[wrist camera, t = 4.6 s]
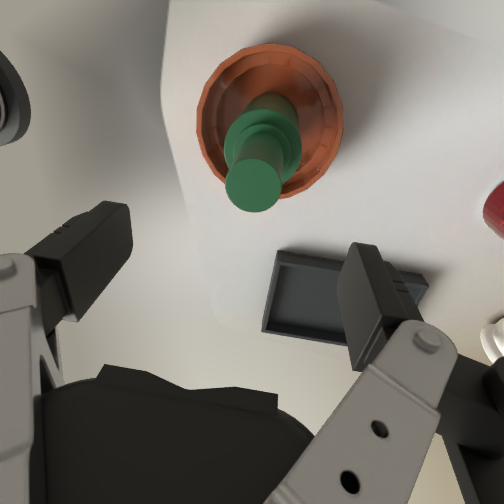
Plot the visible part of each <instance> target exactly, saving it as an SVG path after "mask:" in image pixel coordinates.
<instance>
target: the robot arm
mask: <svg viewBox="0 0 504 504" xmlns="http://www.w3.org/2000/svg"><path fill="white" fill-rule="evenodd" d="M7 119H8V105H7V101H6V97H5V94H4V92H3V89H2V87H1V85H0V132H1V131H2V130H3V128H4V127H5V125H6V123H7ZM132 248H133V238H132V229H131V220H130V211H129V208H128V206H127V205H126V204H123V203H116V202H111V201H102V202H101V203H99V204H98V205H97V206H96V207H94V208H93V209H92V210H90V211H89V212H85V213H82V214H80V215H77V216H74V217H72V218H71V219H70V220H68V221H67V222H66V223H64V224H63V225H62V227H59V228H58V229H56V230H55V231H54V233H51V234H50V235H48V236H47V237H46V238H44V239H43V240H41V241H40V242H39V243H37V244H36V245H35V246H33V247H32V248H31V249H30V250H28V251H27V252H25V253H24V254H16V253H12V254H11V253H10V254H2V255H0V504H407V503H408V500H409V498H410V495H411V493H412V490H413V488H414V485H415V483H416V480H417V477H418V475H419V472H420V470H421V467H422V465H423V462H424V459H425V457H426V454H427V452H428V449H429V447H430V444H431V441H432V439H433V436H434V434H435V433H437V434H439V435H442V438H443V440H444V444H445V446H446V449H447V452H448V455H449V458H450V461H451V463H452V467H453V470H454V473H455V475H456V478H457V481H458V484H459V487H460V490H461V493H462V496H463V499H464V501H465V504H504V356H503V357H500V358H498V359H497V360H496V361H495V362H494V363H493V364H492V365H491V367H490V366H487V365H485V364H482V363H480V362H478V361H475V360H473V359H470V358H468V357H465V356H463V355H460V354H458V353H457V349H456V347H455V345H454V343H453V342H452V341H451V339H450V338H449V337H448V336H447V335H446V334H445V333H443V332H442V331H441V330H439V329H438V328H436V327H434V326H432V325H430V324H428V323H425V322H424V320H423V318H422V316H421V314H420V312H419V310H418V308H417V306H416V304H415V302H414V300H413V298H412V296H411V294H410V293H409V290H408V288H407V286H406V285H405V284H404V283H405V282H404V280H403V278H402V276H401V274H400V272H399V271H398V270H397V269H396V268H395V267H393V266H392V265H391V264H390V263H389V262H386V261H383V259H382V257H381V255H380V253H379V251H378V248H377V247H376V246H375V245H369V244H363V243H357V242H353V243H352V244H351V246H350V248H349V251H348V254H347V256H346V259H345V262H344V264H343V267H342V270H341V273H340V275H339V278H338V283H337V295H338V300H339V305H340V310H341V315H342V320H343V325H344V330H345V335H346V340H347V345H348V350H349V355H350V360H351V365H352V370H353V371H358V372H362V373H361V375H360V376H359V378H358V379H357V380H356V382H355V383H354V384H353V386H352V387H351V388H350V390H349V391H348V392H347V394H346V395H345V396H344V398H343V399H342V401H341V402H340V403H339V405H338V406H337V407H336V409H335V410H334V411H333V413H332V414H331V416H330V417H329V418H328V419H327V421H326V422H325V424H324V425H323V426H322V428H321V429H320V430H319V432H318V433H317V435H316V436H314V435H313V434H312V433H311V432H310V431H309V430H308V429H307V428H306V427H305V426H304V425H303V424H301V423H300V422H299V421H298V420H296V419H295V418H294V417H292V416H290V415H289V414H287V413H286V412H284V411H282V410H280V409H278V408H277V407H278V394H274V393H269V392H263V391H257V390H251V389H245V388H240V387H224V388H211V389H197V390H187V389H184V388H182V387H179V386H177V385H175V384H173V383H171V382H169V381H166V380H164V379H162V378H160V377H158V376H156V375H153V374H151V373H149V372H147V371H141V370H136V369H130V368H124V367H118V366H113V365H107V364H104V366H103V367H102V369H101V371H100V372H99V374H98V376H97V377H96V378H90V379H85V380H80V381H76V382H73V383H69V384H66V385H65V384H64V379H63V370H62V362H61V353H60V344H59V335H58V330H57V327H56V325H57V324H58V323H59V322H60V321H61V320H66V321H72V322H79V320H80V319H81V318H82V317H83V315H84V314H85V313H86V312H87V310H88V309H89V308H90V306H91V305H92V304H93V303H94V301H95V300H96V299H97V298H98V296H99V295H100V294H101V293H102V291H103V290H104V289H105V287H106V286H107V285H108V284H109V283H110V281H111V280H112V279H113V278H114V276H115V275H116V274H117V272H118V271H119V270H120V269H121V267H122V266H123V265H124V264H125V262H126V261H127V260H128V259H129V257H130V255H131V252H132Z"/></svg>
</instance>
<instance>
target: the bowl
mask: <svg viewBox="0 0 504 504" xmlns="http://www.w3.org/2000/svg"><path fill="white" fill-rule="evenodd" d="M267 92H275V93H279V94H282V95H284V96H285V97H287V98H288V99H289V100H290V101H291V102H292V103H293V105H294V107H295V109H296V111H297V115H298V121H299V127H300V134H301V141H302V157H301V161H300V164H299V166H298V168H297V170H296V172H295V173H294V174H293V176H292V177H291V178H290V179H289V180H288V181H286V182H285V183H283V184H282V191H281V194H280V197H279V199H283V198H289V197H291V196H293V195H296V194H298V193H300V192H302V191H304V190H307V189H308V188H309V187H310V186H312V185H313V184H314V183H315V182H316V181H317V180H318V179H320V178H321V177H322V176H323V175H324V174H325V172H326V171H327V169H328V168H329V166H330V165H331V163H332V161H333V160H334V158H335V157H336V155H337V151H338V148H339V144H340V141H341V137H342V134H343V107H342V103H341V100H340V97H339V95H338V92H337V89H336V86H335V83H334V81H333V80H332V78H331V77H330V76H329V75H328V73H327V72H326V71H325V70H324V68H323V67H322V66H321V65H320V63H319V62H318V61H317V60H315V59H314V58H312V57H310V56H309V55H307V54H305V53H304V52H302V51H300V50H299V49H297V48H295V47H291V46H285V45H278V44H272V43H265V44H261V45H257V46H252V47H248V48H244V49H241V50H240V51H238V52H237V53H235V54H234V55H232V56H231V57H229V58H228V59H226V60H225V61H223V62H222V63H221V64H220V65H219V66H218V67H217V69H216V70H215V71H214V73H213V74H212V75H211V77H210V78H209V80H208V81H207V82H206V84H205V86H204V89H203V92H202V95H201V98H200V101H199V104H198V107H197V124H196V134H197V137H198V141H199V145H200V148H201V152H202V155H203V157H204V159H205V160H206V162H207V164H208V165H209V167H210V169H211V170H212V172H213V174H214V175H215V176H216V177H218V178H219V179H220V180H221V181H222V182H223V183H224V184H225V180H226V176H227V173H228V171H229V168H228V166H227V163H226V160H225V156H224V142H225V138H226V134H227V132H228V130H229V128H230V126H231V125H232V124H233V123H234V121H235V120H236V119H237V118H238V116H239V115H240V114H241V113H242V112H243V110H244V109H245V108H246V107H247V105H248V104H249V103H250V102H251V101H252V100H253V99H254V98H255V97H257V96H258V95H260V94H263V93H267Z"/></svg>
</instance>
